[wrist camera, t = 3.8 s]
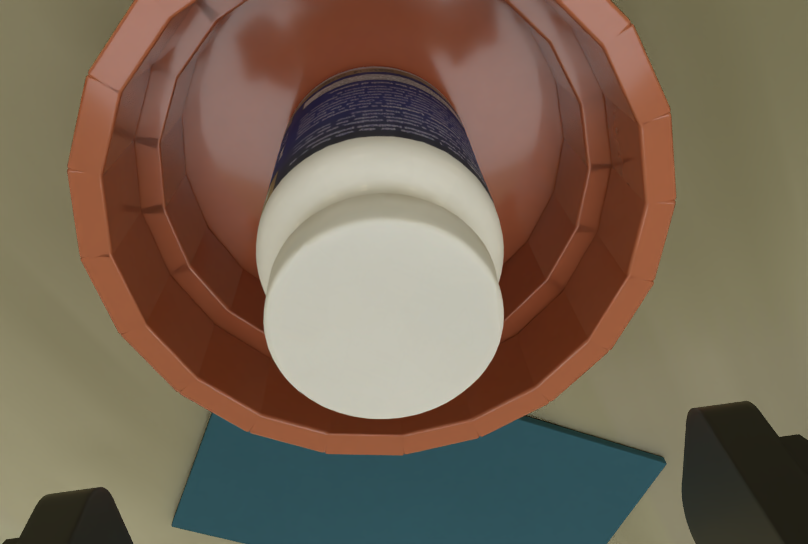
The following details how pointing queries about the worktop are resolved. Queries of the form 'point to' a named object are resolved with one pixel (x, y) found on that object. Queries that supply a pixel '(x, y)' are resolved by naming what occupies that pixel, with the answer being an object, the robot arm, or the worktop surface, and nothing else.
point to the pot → (257, 154)
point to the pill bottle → (379, 249)
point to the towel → (416, 490)
